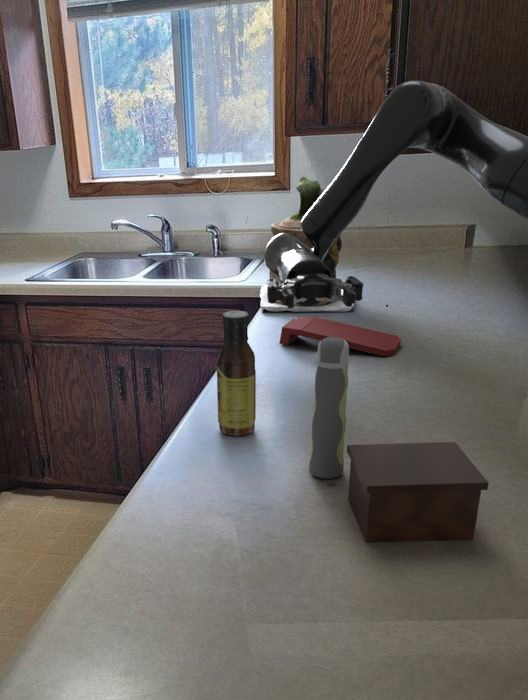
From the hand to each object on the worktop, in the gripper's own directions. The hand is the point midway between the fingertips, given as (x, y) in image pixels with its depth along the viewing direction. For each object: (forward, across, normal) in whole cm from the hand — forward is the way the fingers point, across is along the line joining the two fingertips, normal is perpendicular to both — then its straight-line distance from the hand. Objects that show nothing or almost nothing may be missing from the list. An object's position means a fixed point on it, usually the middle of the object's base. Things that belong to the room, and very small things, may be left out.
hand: (320, 300), depth 108 cm
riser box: (+25, +8, +22) cm, 35 cm away
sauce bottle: (-6, -12, +23) cm, 26 cm away
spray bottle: (+11, 0, +23) cm, 25 cm away
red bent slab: (-54, +14, +23) cm, 60 cm away
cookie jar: (-96, +12, +23) cm, 100 cm away
